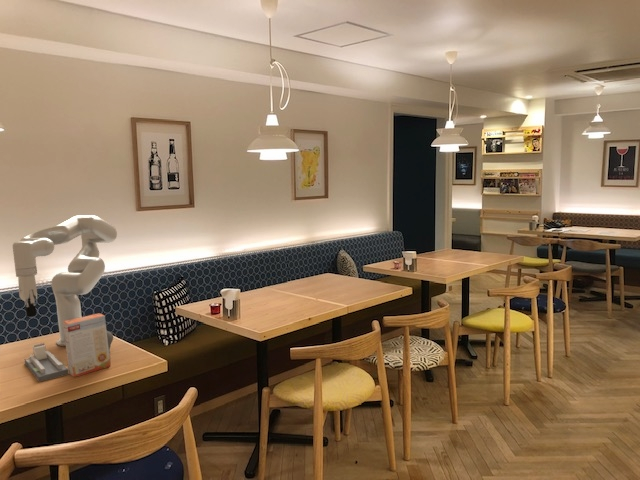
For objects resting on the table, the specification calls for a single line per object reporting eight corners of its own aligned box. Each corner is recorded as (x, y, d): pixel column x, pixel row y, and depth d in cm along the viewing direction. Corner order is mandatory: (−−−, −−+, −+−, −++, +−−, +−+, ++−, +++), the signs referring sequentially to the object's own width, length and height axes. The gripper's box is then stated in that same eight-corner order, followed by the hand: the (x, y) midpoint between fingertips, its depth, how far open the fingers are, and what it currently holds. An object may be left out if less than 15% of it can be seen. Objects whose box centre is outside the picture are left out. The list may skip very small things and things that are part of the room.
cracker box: (105, 363, 210) (99, 312, 207) (111, 367, 206) (105, 315, 203) (68, 373, 201) (62, 320, 198) (73, 377, 197) (67, 323, 193)
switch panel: (52, 357, 218) (51, 348, 218) (68, 374, 200) (67, 364, 200) (25, 364, 212) (24, 354, 211) (39, 381, 194) (38, 372, 193)
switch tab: (44, 355, 214) (42, 341, 214) (47, 358, 211) (45, 344, 211) (34, 358, 212) (32, 344, 211) (36, 360, 209) (34, 346, 208)
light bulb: (96, 356, 217) (93, 333, 216) (104, 351, 223) (102, 328, 222) (109, 357, 216) (107, 333, 215) (117, 351, 222) (115, 329, 221)
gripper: (12, 270, 215) (17, 314, 218) (19, 275, 204) (25, 321, 206) (32, 267, 220) (37, 310, 222) (41, 272, 208) (46, 317, 211)
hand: (31, 315), depth 214 cm, fingers closed
